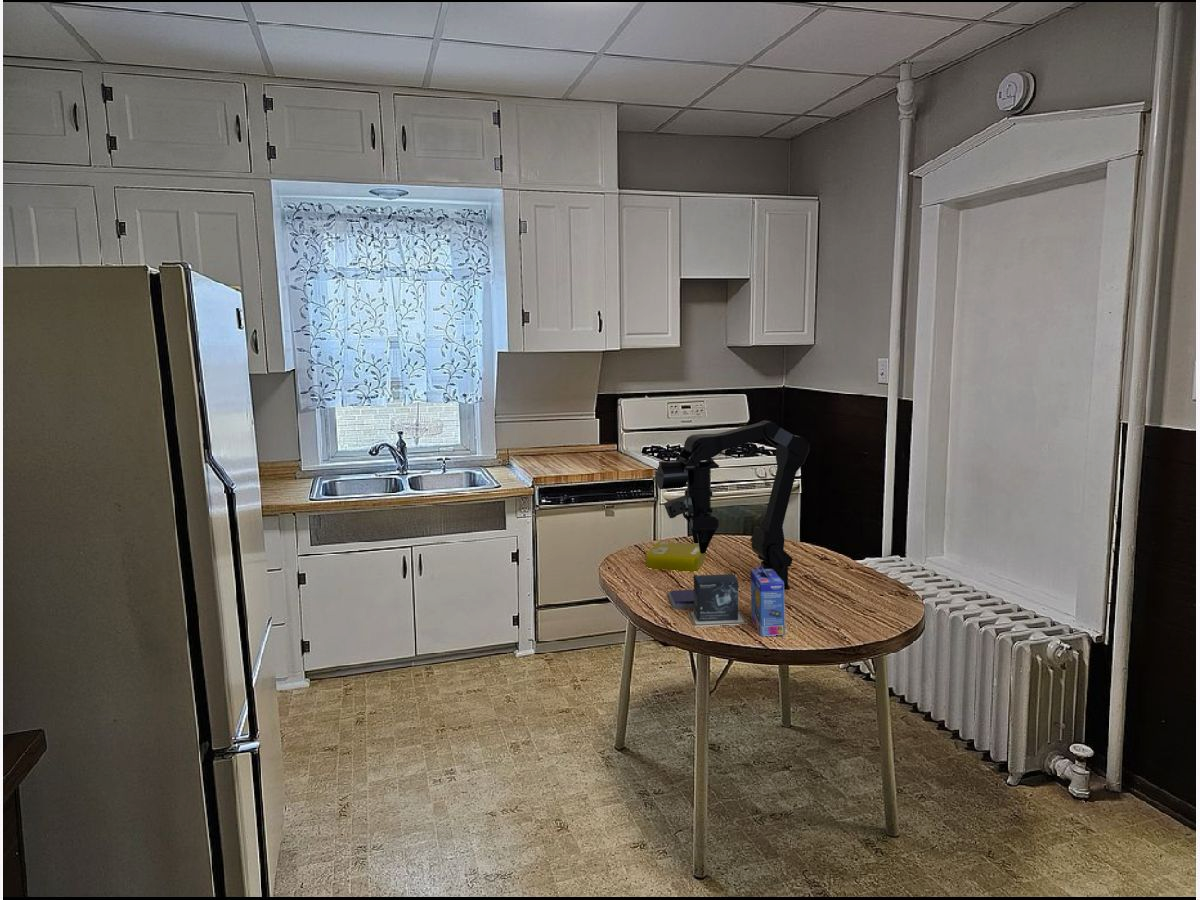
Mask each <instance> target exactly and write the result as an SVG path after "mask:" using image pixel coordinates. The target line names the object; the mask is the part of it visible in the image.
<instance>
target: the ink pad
mask: <svg viewBox="0 0 1200 900" xmlns="http://www.w3.org/2000/svg"><path fill="white" fill-rule="evenodd" d="M667 593H668V594H667V597H668V599H669V601H670V604H671V606H672V609H673V610H690V609H691V610H694V589H679V590H670V591H668V592H667Z"/></svg>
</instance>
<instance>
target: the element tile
mask: <svg viewBox="0 0 1200 900" xmlns="http://www.w3.org/2000/svg"><path fill="white" fill-rule="evenodd" d="M706 552H707V551H706ZM706 552H705V553H704V554H701V553H700V549H699V543H685V542H683V543H682V542H671V541H670V542H669V541H658V542H656V543H655V544H654V545H653V546H652V547H650V549H649V550H648V551H647V553H645V568H646V567H648V568H652V569H651V570H655V569H667V570H666V571H668V570H678V571H677V572H682V571H690V572H689V573H695V572H694V571H696V572H699V570H700V569H701V567H702V566H703V564H704V563H703V562H705V561H706V560H707V559H706V557H707V555H706ZM704 560H705V561H704ZM701 565H702V566H701ZM648 568H647V569H648Z"/></svg>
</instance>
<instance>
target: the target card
mask: <svg viewBox="0 0 1200 900" xmlns="http://www.w3.org/2000/svg"><path fill="white" fill-rule="evenodd" d="M687 614H688V617H689V618H690V621H691V623H692V626H693V627H694V628H701V627H702V628H703V627H722V625H729V626H740V625H739V624H748V621H747V620H746V618H745V617H744V616H743V614H742V612H741V611H740V609H739V608H738V620H720V621H698V620H697V618H696V616H695V614H694V610H687ZM720 625H721V626H720Z"/></svg>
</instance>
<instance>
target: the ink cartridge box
mask: <svg viewBox="0 0 1200 900" xmlns="http://www.w3.org/2000/svg"><path fill="white" fill-rule="evenodd" d="M757 564H758V566H759V567H760V568H761V569H759V568H754V569H753V568H752V569H750V596H751V597H750V599H751V600H750V601H751V603H750V606H751V607H750V608H751V610H750V611H751V622H752V623H754V624H753V625H754V627H755V629H756V628H757V629H756V631H757V632H758V634H759V636H760V637H761V636H767V637H777V636H776V635H785V636H786V617H785V616H786V615H785V614H786V612H785V589H784V582H783V580H782V579H781V578H780V577H779V576H778V575H777V574H776V572H775V571H774V570H773V569H763V568H762V567H761V563H759V562H758V563H757Z"/></svg>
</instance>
